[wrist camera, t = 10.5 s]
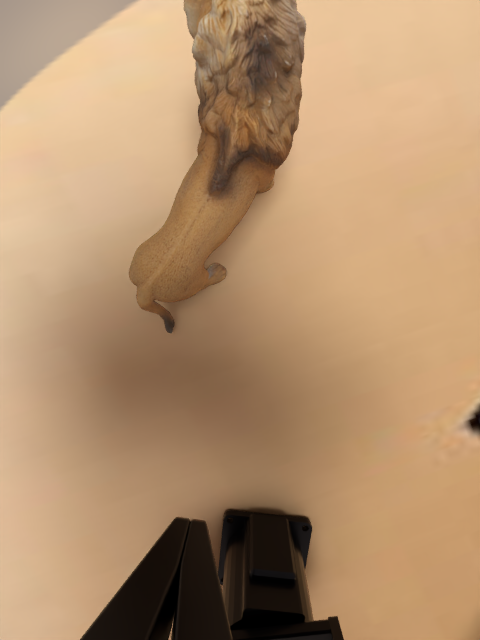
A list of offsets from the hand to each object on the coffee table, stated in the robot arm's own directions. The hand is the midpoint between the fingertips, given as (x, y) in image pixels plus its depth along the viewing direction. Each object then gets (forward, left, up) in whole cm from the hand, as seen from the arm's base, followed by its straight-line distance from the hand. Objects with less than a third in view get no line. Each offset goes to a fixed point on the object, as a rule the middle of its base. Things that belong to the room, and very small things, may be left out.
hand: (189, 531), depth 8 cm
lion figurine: (+10, +2, -12) cm, 16 cm away
